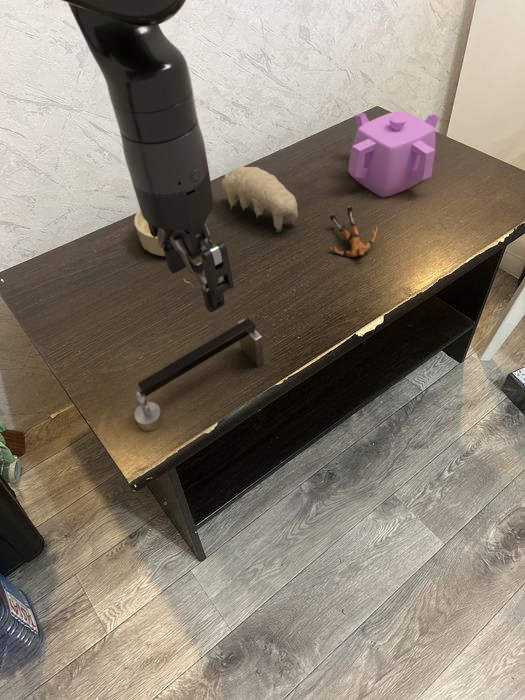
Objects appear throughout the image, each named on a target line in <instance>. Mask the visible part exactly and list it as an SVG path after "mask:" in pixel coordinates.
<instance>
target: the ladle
mask: <svg viewBox="0 0 525 700" xmlns="http://www.w3.org/2000/svg"><path fill="white" fill-rule="evenodd" d="M238 342H239V344H240V350H241V352H243V354H244V355H246V357H247V358H248V359H249V360H250V361H251V362H252V363H253V364H254V365H255V366H256V367H257V368H259V367H261V366H262V365H264V363H265V360H264V348H263V347H264V346H263V336H262V335H261V334H260V333H259V332H258V331H257V330H256V325H255V323H254V322H253V321H252V320H251V319H250V318H246V319H245V318H243V319H241V320H239V321H237V324H236V325H234V326H233V327H231V328H229V329H227V330H226V331H224V332H222V333H221V334H219V335H217V336H215V337H213V338H211V339H210V340H209V341H207V342H205V343H204V344H202V345H200V346H199V347H197V348H195V349H193V350H192V351H190V352H188V353H186V354H184V355H183V356H181V357H180V358H178V359H176V360H175V361H173V362H171V363H169V364H168V365H166V366H164V367H163V368H161V369H160V370H157V371H156V372H154V373H153V374H151V375H149V376H147V377H146V378H144V379H142V380H141V381H139V382H137V386H138V388H139V390H138V391H136V392H135V398H136V400H137V403H138V404H139V405H138V406H137V408H136V409H135V410H134V419H135V421H136V424H137V425H138V428H139V429H141V430H142V431H145V432H151V431H152V432H153V431H156V430H157V429H158V428H160V427H161V426H162V424H163V422H164V416H163V413H162V410H161V408H160V406H159V404H158V403H156V402H153V401H147V399H146V397H147V396H150V395H151V394H153V393H154V392H156V391H158V390H159V389H161V388H163V387H164V386H166V385H168V384H169V383H171V382H172V381H174V380H176V379H178V378H179V377H180V376H183V375H184V374H186V373H187V372H189V371H191V370H192V369H194V368H195V367H197V366H199V365H201V364H203V363H204V362H206V361H208V360H209V359H211V358H213V357H214V356H216V355H217V354H219V353H221V352H222V351H224V350H226V349H228V348H229V347H231V346H232V345H234V344H236V343H238Z"/></svg>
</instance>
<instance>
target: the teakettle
mask: <svg viewBox="0 0 525 700" xmlns="http://www.w3.org/2000/svg"><path fill="white" fill-rule="evenodd" d="M354 118H355V124H356V129H357V131H356V134H355V137H354V139H353V143H352V145H351V146H352V147H351V151H350V155H349V161H348V170H347V172H348V173H349V175H350V177H351V178H352V179H353V180H354V181H356V182H358V183H359V184H360V185H362V186H363V187H364V188H366V189H368V190H369V191H370V192H372V193H374V194H375V195H377V196H379V197H380V198H388V197H391V196H394V195H396V194H400V193H402V192H404V191H407V190H409V189H411V188H412V187H414V186H416V185H418V184H419V183H420V182H422V181H425V180H427V179H430V178H432V175H433V167H434V161H435V154H436V127H437V124H438V121H439V120H440V116H439V115H437V114H435V113H433V114H428V116H427V117H426V118H425V120H422V119H420V118H418V117H417V116H415V115H413V114H411V113H409V112H407V111H406V110H405V111H404V110H403V109H402V110H401V109H400V110H396V111H392V112H389V113H387V114H386V113H385V114H384V115H381V116H378V117H376V118H374V119H372V120H369V118H368V117H367V114H366V113H362V112H359V113H357V114H354Z"/></svg>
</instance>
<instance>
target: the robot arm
mask: <svg viewBox="0 0 525 700" xmlns="http://www.w3.org/2000/svg"><path fill="white" fill-rule="evenodd" d="M61 1H63V2H64V3H67V4H68V7H69V10H70V11H71V13H72V15H73V17H74V20H75V22H76V23H77V26H78V28H79V30H80V33H81V34H82V36H83V39H84V41H85V43H86V45H87V47H88V49H89V52H90V53H91V55H92V58H93V59H94V61H95V62H96V64H97V66H98V68H99V70H100V72H101V74H102V76H103V78H104V81H105V84H106V87H107V91H108V96H109V99H110V103H111V106H112V110H113V113H114V115H115V116H114V117H115V120H116V123H117V127H118V130H119V133H120V138H121V144H122V150H123V151H122V152H123V156H124V159H125V163H126V166H127V170H128V173H129V176H130V180H131V183H132V187H133V189H134V194H135V197H136V199H137V203H138V207H139V209H140V210H141V213H142V216H143V217H144V219H145V220H146V221H147V222H148V226H149V230H150V233H151V235H152V236H153V237H154V238H155V237H158V243H159V246H160V247H161V248H162V249H163V250H164V254H165V256H164V257H165V260H166V264H167V267H168V270H169V271H170V272H171V274H176V273H178V272H180V271H181V270H184V269H185V268H187V271H188V273H189V274H191V275H195V277H196V279H197V281H198V283H199V285H200V287H201V293H202V297H203V302H204V306H205V309H206V310H207V311H208V312H209V313H213V312H215V311H217V310H218V309H220V308H222V307H224V306H225V304H226V301H225V297H224V293H225V292H227V291H228V290H230V289H233V288H234V286H235V285H234V280H233V275H232V269H231V264H230V259H229V254H228V249H227V245H226V244H225V243H224V242H223V241H219V242H217V243H214V242H212V240H211V238H210V237H211V233H210V231H209V229H208V227H207V225H206V222H207V220H208V217H209V215H210V213H211V212H212V211H213V208H214V201H215V200H214V194H213V187H212V182H211V175H210V169H209V162H208V156H207V151H206V145H205V139H204V136H203V132H202V129H201V126H200V122H199V119H198V113H197V107H196V101H195V94H194V89H193V83H192V82H193V81H192V78H191V77H192V76H191V73H190V68H189V65H188V62H187V60H186V57H185V56H184V55H183V53H182V52H181V50H179V49H178V48H177V46H175V45H174V44H173V42H171V41H170V39H168V38H167V36H166V35H165V34H164V32H163V30H162V28H161V26H160V25H161V24H163V23H165V22H167V21H169V20H171V19H172V18H174V17H175V16H176V15H177V14H178V13H179V12H180V11H181V10H182V8H183V6H184V5H185V3H186V1H187V0H61ZM198 257H200V259H199V261H200V262H198V263H196V264H195V262H193V260H194V259H196V258H198ZM203 271H204V272H203Z"/></svg>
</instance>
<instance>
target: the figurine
mask: <svg viewBox="0 0 525 700" xmlns="http://www.w3.org/2000/svg"><path fill="white" fill-rule="evenodd" d="M346 208H347V216H348V218H349V225H350V228H351V233H350V232H349V231H348V230H347V229H345V228H344V227H343V226H342V225H341V224H340V222H339V221H338V219H337V217H336V215H335V214H334V213H332V214H330V215H329V219H330V221H332V222H333V224H335V226H336V227H337V230H338V231H339V232H340V233H341V234H342V236H343V238H344V239H345V240H346V241H347V243H348V244H349V246H350V250H346V251H343V250H338V248H337V247H336V246H333V247H334V248H333V247H331V246H329V250H330V251H331V252H332V253H335V254H337V255H340V256H341V257H342V256H343V257H344V256H345V257H351V258H353V257H354V258H355V257H359V258H360V259H364V258H365V253H367V252H368V251H369V249H371V246H372V245H373V244H374V242H375V240H376V236H377V234H378V230H379V229H378V226H375V230H374V229H372V236H371V237H370V239H369V240H368V241H367V242H366V243H363V241H362V240H361V237H360V234H359V231H358V227H357V225H356V221H355V220H354V218H353V213H354V212H353V207H352V206H350V205H349V206H348V207H346Z"/></svg>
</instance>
